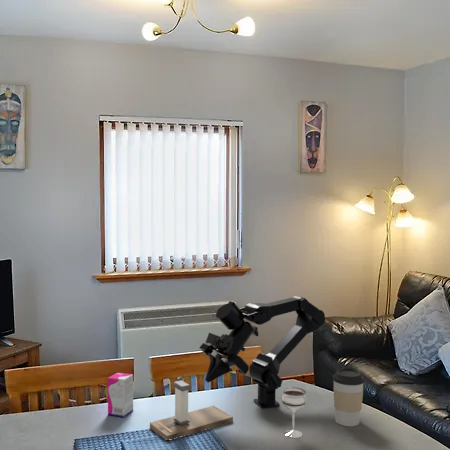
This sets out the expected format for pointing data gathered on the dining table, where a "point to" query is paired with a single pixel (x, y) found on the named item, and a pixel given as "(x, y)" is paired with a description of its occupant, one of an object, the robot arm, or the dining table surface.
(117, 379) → the supplement box
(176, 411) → the lever
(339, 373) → the coffee cup
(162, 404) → the dining table surface
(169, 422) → the wooden board
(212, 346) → the robot arm
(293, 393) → the wineglass
